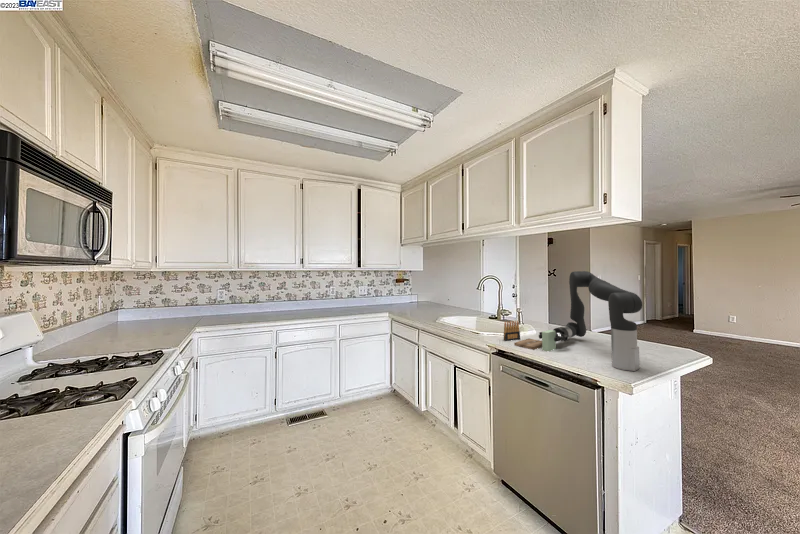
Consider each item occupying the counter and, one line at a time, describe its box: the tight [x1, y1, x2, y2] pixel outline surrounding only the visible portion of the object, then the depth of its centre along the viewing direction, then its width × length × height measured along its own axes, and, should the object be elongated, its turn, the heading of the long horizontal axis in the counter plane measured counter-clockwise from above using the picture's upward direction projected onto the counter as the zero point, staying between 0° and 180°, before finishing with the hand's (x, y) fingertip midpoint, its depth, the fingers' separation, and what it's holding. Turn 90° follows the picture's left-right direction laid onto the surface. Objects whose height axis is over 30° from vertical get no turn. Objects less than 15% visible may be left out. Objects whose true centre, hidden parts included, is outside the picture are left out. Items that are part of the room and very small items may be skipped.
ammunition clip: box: [503, 320, 521, 342], centre depth 183 cm, size 11×2×12 cm, turn 105°
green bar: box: [541, 329, 557, 352], centre depth 161 cm, size 3×8×10 cm, turn 125°
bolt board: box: [513, 338, 542, 351], centre depth 171 cm, size 12×15×2 cm
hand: (547, 338), depth 160 cm, fingers open, 8 cm apart
